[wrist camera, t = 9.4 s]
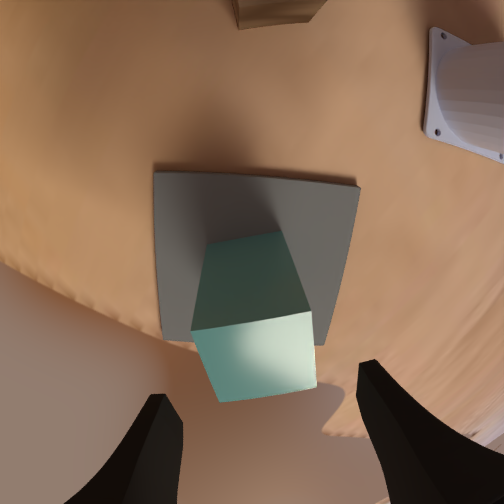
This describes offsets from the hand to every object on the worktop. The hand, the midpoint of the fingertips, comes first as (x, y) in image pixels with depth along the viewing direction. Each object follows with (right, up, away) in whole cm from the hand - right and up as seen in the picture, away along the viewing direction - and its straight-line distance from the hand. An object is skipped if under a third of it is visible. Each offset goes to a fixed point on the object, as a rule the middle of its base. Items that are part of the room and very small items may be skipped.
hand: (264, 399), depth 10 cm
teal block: (-1, +4, +9) cm, 10 cm away
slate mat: (-1, +4, +9) cm, 10 cm away
